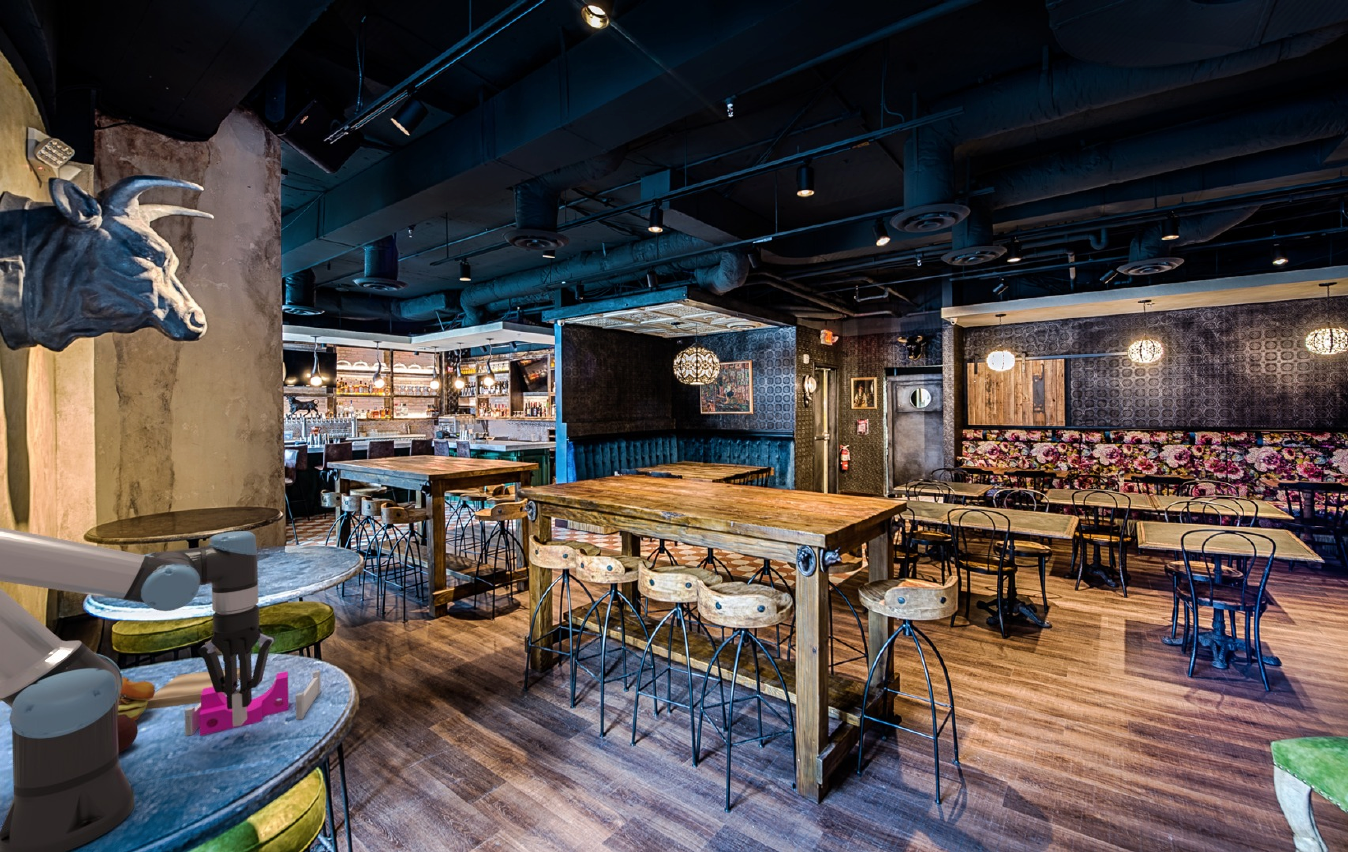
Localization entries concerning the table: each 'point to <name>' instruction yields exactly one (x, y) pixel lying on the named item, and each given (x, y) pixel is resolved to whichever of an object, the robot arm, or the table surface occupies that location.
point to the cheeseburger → (134, 698)
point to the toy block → (221, 717)
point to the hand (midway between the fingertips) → (240, 722)
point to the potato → (126, 732)
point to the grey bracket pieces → (302, 705)
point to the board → (183, 690)
